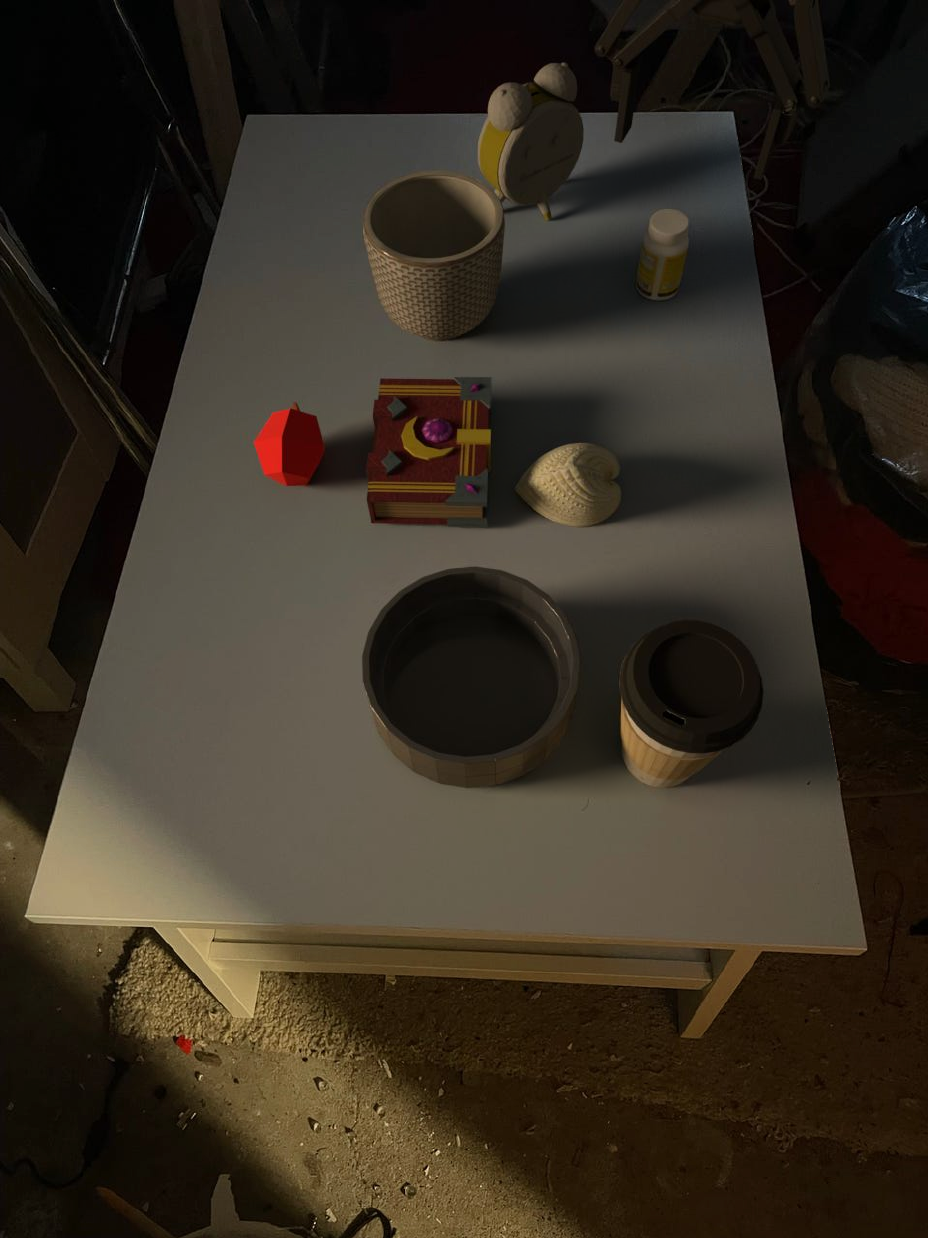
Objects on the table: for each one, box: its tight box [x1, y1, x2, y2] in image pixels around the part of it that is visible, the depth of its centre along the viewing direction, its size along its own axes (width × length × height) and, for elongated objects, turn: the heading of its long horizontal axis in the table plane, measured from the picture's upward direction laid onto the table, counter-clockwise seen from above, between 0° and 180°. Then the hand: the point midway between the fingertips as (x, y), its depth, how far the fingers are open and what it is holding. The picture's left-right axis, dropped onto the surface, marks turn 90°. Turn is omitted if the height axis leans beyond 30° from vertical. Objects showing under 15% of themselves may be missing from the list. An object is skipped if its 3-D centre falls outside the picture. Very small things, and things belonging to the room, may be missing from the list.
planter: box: [362, 169, 506, 342], centre depth 92 cm, size 14×14×13 cm
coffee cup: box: [618, 619, 764, 789], centre depth 67 cm, size 10×10×15 cm
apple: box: [253, 401, 326, 487], centre depth 86 cm, size 7×7×8 cm
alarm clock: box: [477, 61, 585, 221], centre depth 99 cm, size 12×7×15 cm, turn 124°
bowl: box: [361, 566, 581, 789], centre depth 73 cm, size 17×17×6 cm
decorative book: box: [365, 376, 492, 529], centre depth 86 cm, size 11×16×5 cm
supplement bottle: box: [635, 208, 690, 301], centre depth 95 cm, size 5×5×8 cm
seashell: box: [514, 442, 622, 528], centre depth 83 cm, size 8×8×8 cm
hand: (690, 152), depth 84 cm, fingers open, 13 cm apart
